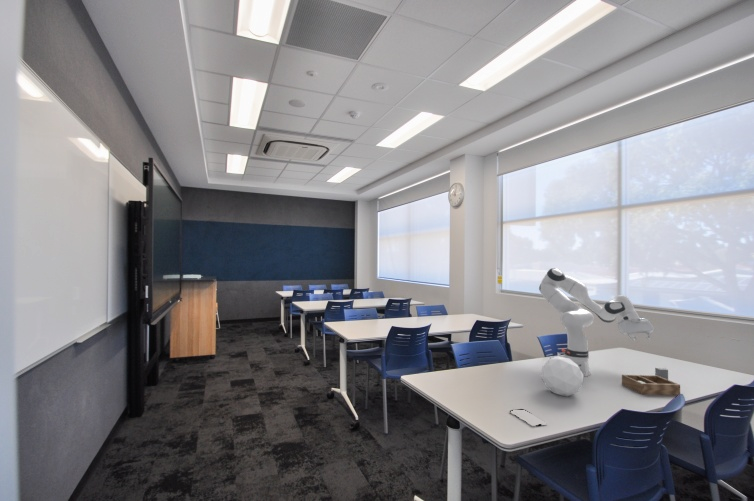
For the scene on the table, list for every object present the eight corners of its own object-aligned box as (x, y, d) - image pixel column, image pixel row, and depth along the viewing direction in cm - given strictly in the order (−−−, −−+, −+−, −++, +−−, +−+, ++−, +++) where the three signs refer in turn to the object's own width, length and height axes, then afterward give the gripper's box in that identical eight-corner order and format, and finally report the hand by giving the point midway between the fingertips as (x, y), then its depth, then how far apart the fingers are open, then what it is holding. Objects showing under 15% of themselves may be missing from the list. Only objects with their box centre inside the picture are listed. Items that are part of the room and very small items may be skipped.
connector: (660, 385, 198) (660, 369, 199) (655, 383, 202) (655, 367, 202) (668, 385, 198) (668, 369, 199) (663, 383, 202) (663, 367, 202)
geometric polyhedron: (572, 410, 178) (591, 387, 166) (532, 391, 185) (547, 367, 173) (574, 383, 192) (591, 360, 181) (537, 365, 199) (551, 342, 187)
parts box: (642, 395, 182) (642, 383, 183) (622, 385, 197) (621, 374, 198) (680, 396, 182) (680, 384, 183) (657, 386, 197) (657, 375, 198)
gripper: (644, 319, 227) (655, 340, 220) (613, 321, 227) (623, 342, 219) (650, 315, 222) (661, 336, 214) (619, 318, 222) (629, 339, 214)
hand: (642, 339), depth 217 cm, fingers open, 8 cm apart
